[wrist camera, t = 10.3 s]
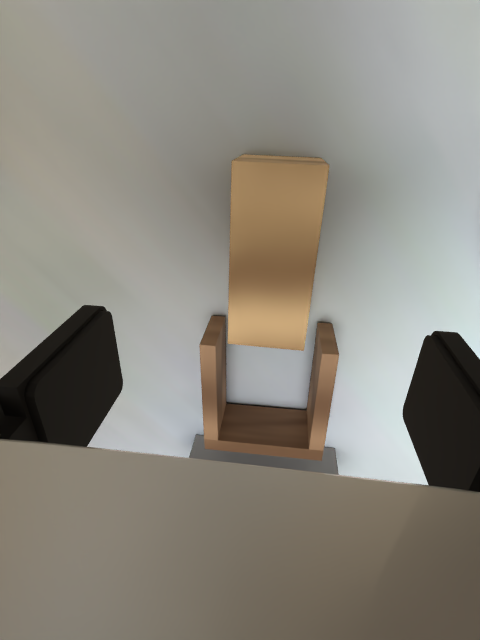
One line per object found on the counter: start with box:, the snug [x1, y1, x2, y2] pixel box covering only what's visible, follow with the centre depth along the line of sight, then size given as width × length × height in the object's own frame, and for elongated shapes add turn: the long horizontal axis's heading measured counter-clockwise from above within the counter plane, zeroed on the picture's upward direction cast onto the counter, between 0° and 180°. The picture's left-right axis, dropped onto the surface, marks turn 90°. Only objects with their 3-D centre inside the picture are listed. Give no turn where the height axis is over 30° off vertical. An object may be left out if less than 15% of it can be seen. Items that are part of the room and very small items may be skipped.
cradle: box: [200, 316, 339, 461], centre depth 26 cm, size 9×8×4 cm
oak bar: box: [228, 154, 329, 351], centre depth 21 cm, size 10×4×5 cm, turn 178°
